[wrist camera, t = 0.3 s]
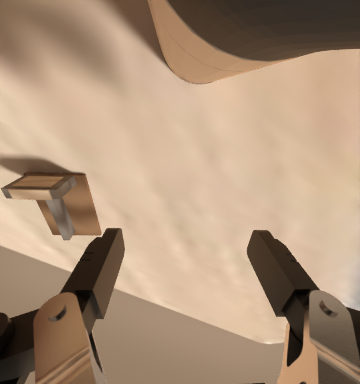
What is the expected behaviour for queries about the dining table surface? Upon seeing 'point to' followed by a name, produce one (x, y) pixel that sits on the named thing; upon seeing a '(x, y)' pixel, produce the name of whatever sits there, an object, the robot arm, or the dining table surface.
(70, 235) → the rack
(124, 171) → the dining table surface
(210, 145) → the dining table surface
